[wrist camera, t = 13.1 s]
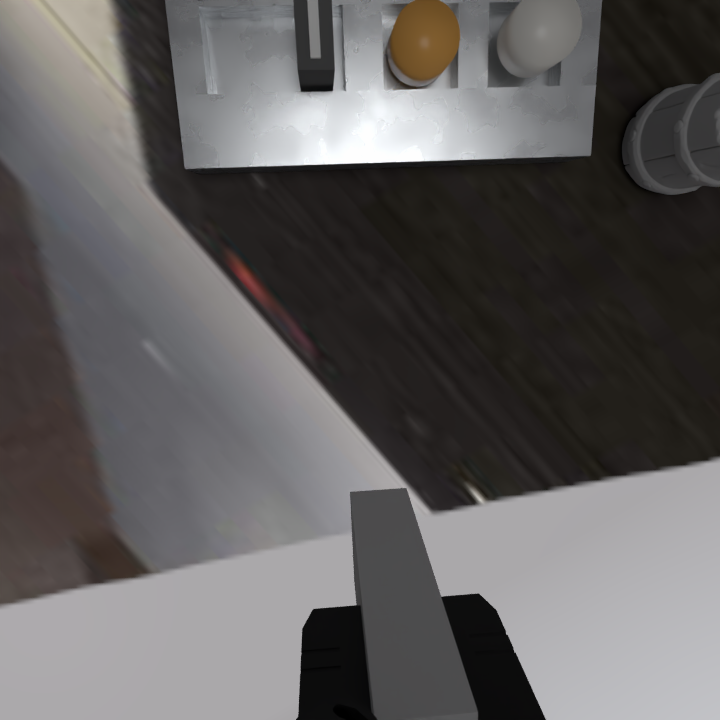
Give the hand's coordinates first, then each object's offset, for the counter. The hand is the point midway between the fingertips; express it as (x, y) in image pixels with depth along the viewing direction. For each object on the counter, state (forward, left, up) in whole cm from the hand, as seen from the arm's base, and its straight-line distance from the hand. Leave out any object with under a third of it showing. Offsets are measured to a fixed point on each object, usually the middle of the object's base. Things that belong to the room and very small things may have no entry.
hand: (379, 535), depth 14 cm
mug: (+28, +13, -30) cm, 43 cm away
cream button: (+13, +19, -25) cm, 34 cm away
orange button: (+6, +19, -26) cm, 33 cm away
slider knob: (-1, +19, -27) cm, 33 cm away
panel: (+4, +19, -29) cm, 35 cm away
